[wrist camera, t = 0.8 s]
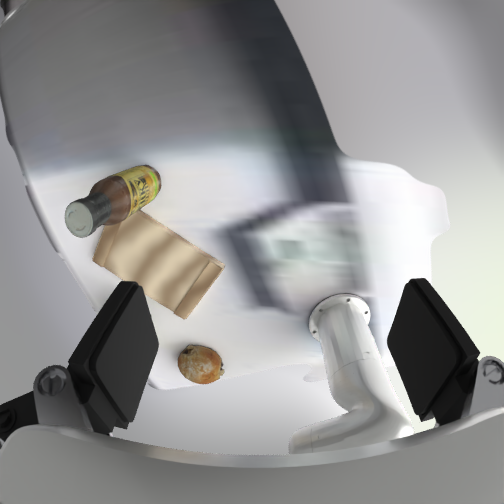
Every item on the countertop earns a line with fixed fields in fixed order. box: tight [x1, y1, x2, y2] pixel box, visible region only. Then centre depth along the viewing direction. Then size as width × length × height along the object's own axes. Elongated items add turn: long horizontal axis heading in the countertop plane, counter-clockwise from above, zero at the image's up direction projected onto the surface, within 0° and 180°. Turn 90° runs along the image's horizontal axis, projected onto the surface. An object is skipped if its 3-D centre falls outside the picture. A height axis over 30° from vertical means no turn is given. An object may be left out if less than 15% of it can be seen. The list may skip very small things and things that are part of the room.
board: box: [92, 210, 225, 319], centre depth 48 cm, size 22×14×2 cm, turn 55°
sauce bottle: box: [65, 165, 161, 238], centre depth 34 cm, size 6×6×20 cm
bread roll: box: [178, 345, 224, 384], centre depth 58 cm, size 10×10×8 cm
